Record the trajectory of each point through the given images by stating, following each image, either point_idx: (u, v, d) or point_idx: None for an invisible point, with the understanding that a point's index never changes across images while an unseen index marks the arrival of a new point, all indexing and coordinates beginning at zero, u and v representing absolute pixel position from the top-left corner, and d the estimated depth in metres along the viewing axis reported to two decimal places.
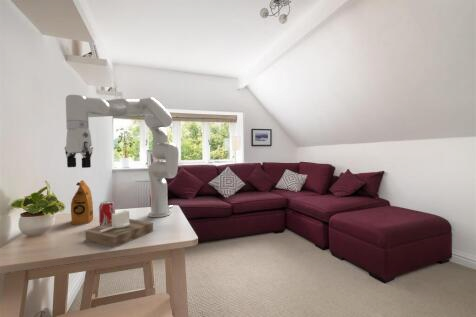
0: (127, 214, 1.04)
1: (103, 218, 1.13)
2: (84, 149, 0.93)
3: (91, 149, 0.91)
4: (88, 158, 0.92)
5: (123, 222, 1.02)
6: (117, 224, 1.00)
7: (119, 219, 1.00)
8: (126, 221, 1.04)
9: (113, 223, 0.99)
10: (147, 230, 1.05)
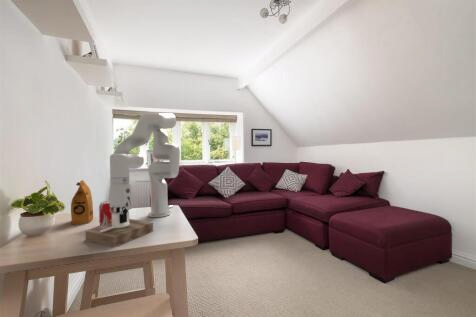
0: (127, 214, 1.04)
1: (103, 218, 1.13)
2: None
3: (129, 209, 1.00)
4: (125, 214, 1.02)
5: None
6: (117, 224, 1.00)
7: (119, 219, 1.00)
8: None
9: (113, 223, 0.99)
10: (147, 230, 1.05)
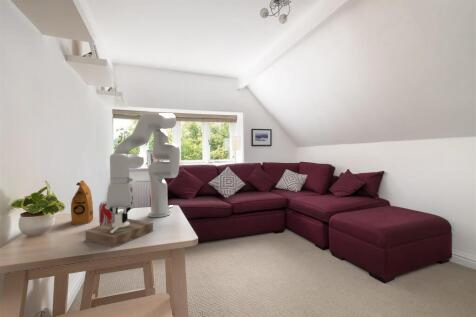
0: None
1: (103, 218, 1.13)
2: None
3: (133, 207, 1.03)
4: (127, 213, 1.03)
5: None
6: (121, 224, 1.00)
7: None
8: None
9: (117, 223, 0.99)
10: (147, 230, 1.05)
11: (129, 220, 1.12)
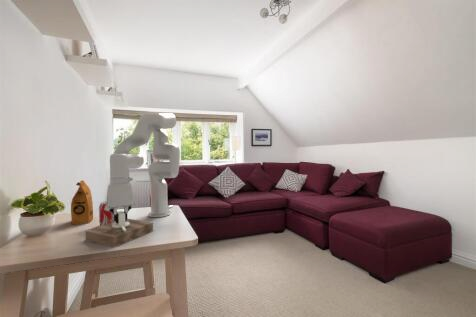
0: None
1: (103, 218, 1.13)
2: None
3: None
4: None
5: None
6: (124, 223, 1.01)
7: None
8: None
9: (121, 223, 1.00)
10: (147, 230, 1.05)
11: (129, 220, 1.12)
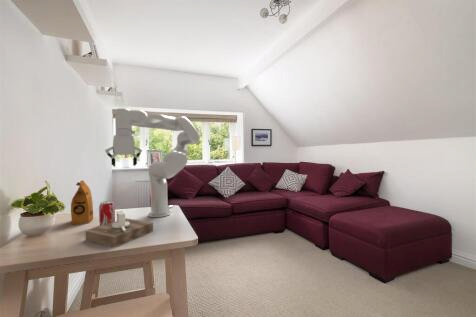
0: None
1: (103, 218, 1.13)
2: None
3: (141, 151, 1.24)
4: None
5: None
6: (124, 223, 1.01)
7: None
8: None
9: (121, 223, 0.99)
10: (147, 230, 1.05)
11: (129, 220, 1.12)
